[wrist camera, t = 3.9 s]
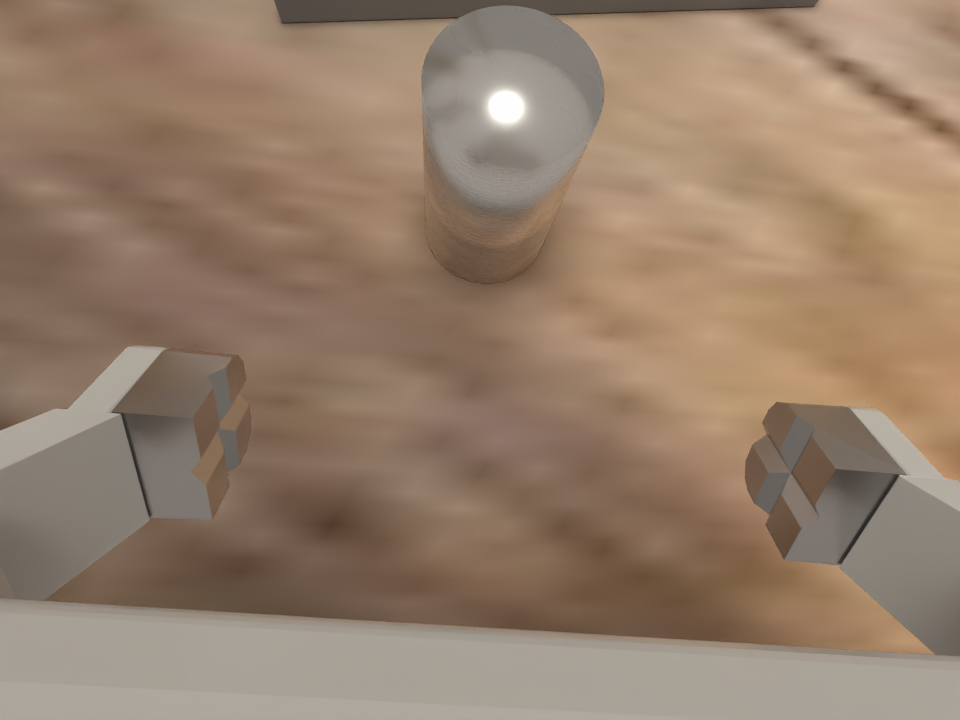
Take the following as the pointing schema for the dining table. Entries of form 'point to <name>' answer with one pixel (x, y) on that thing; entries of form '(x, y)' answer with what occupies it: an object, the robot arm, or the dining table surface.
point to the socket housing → (380, 3)
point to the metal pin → (503, 135)
